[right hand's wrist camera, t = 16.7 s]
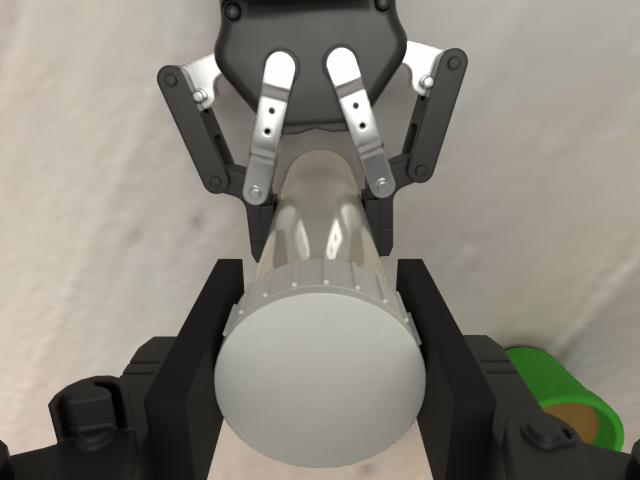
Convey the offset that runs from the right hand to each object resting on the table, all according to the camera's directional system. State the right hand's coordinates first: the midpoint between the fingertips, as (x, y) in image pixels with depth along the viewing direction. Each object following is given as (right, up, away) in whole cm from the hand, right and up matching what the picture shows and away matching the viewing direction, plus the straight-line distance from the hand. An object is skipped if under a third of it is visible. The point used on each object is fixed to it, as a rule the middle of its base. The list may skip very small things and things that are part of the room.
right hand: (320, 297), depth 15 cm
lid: (0, -1, -4) cm, 4 cm away
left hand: (0, +1, +9) cm, 9 cm away
